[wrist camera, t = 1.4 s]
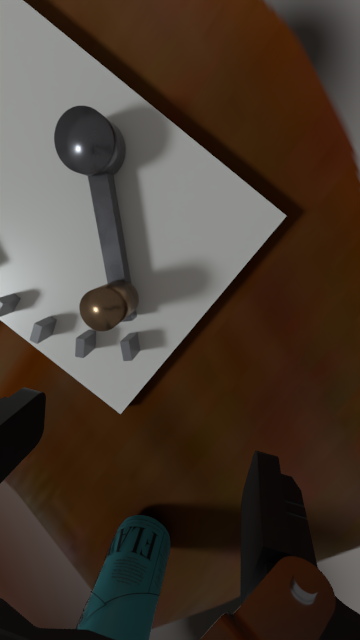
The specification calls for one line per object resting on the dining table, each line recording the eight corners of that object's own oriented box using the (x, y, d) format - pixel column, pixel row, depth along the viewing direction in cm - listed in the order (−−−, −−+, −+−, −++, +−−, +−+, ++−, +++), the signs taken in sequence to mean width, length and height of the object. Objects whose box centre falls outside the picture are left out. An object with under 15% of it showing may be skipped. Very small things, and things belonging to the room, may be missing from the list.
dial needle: (68, 124, 27) (26, 99, 21) (120, 113, 26) (89, 84, 20) (106, 319, 31) (77, 338, 25) (151, 315, 30) (132, 334, 24)
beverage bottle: (173, 504, 37) (101, 790, 18) (177, 551, 39) (116, 856, 20) (118, 500, 39) (-2, 763, 20) (124, 545, 40) (20, 827, 21)
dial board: (-6, -21, 27) (-47, -62, 23) (284, 216, 27) (291, 214, 24) (-104, 226, 34) (-147, 226, 30) (125, 406, 35) (111, 428, 31)
